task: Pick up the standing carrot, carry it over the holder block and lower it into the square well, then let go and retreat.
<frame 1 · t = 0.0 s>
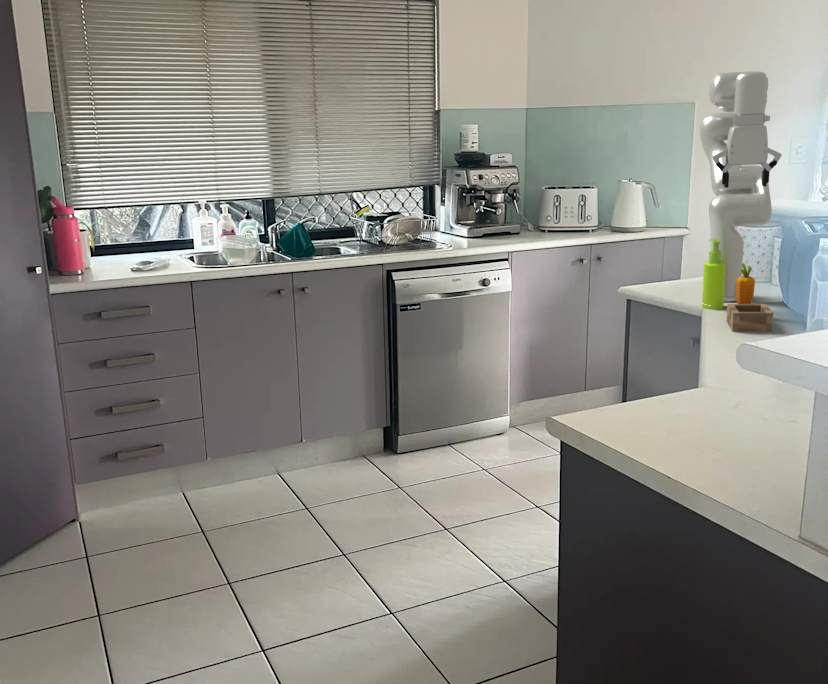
hand: (744, 186, 226), 37 cm above the worktop, tool pointing down, fingers open, 9 cm apart
soap dispenser: (712, 306, 249), on the worktop
holder: (748, 326, 227), on the worktop
carrot: (743, 316, 238), on the worktop
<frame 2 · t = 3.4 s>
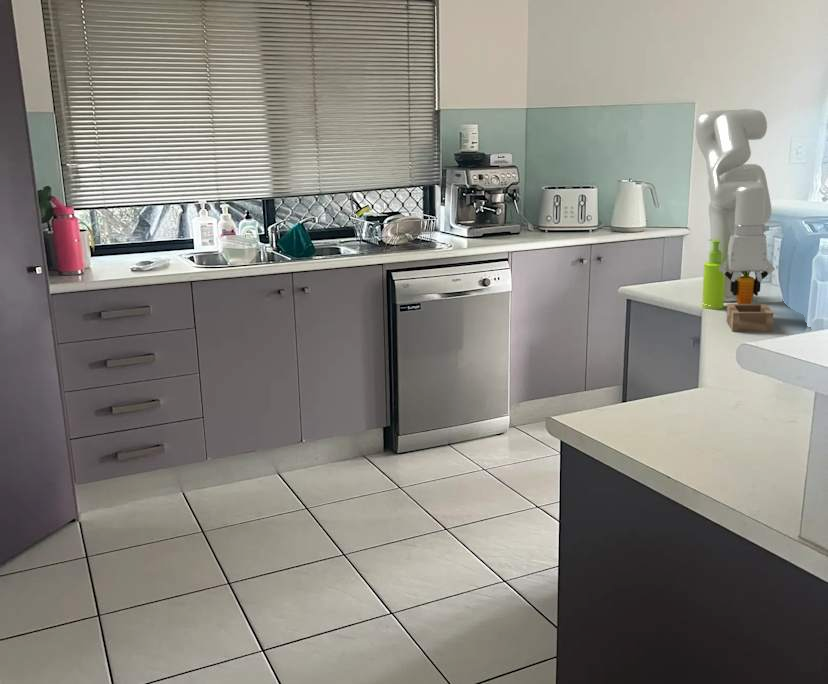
hand: (744, 293, 236), 6 cm above the worktop, tool pointing down, fingers closed on carrot, 5 cm apart
carrot: (743, 316, 238), on the worktop, touching gripper
everything else where it was.
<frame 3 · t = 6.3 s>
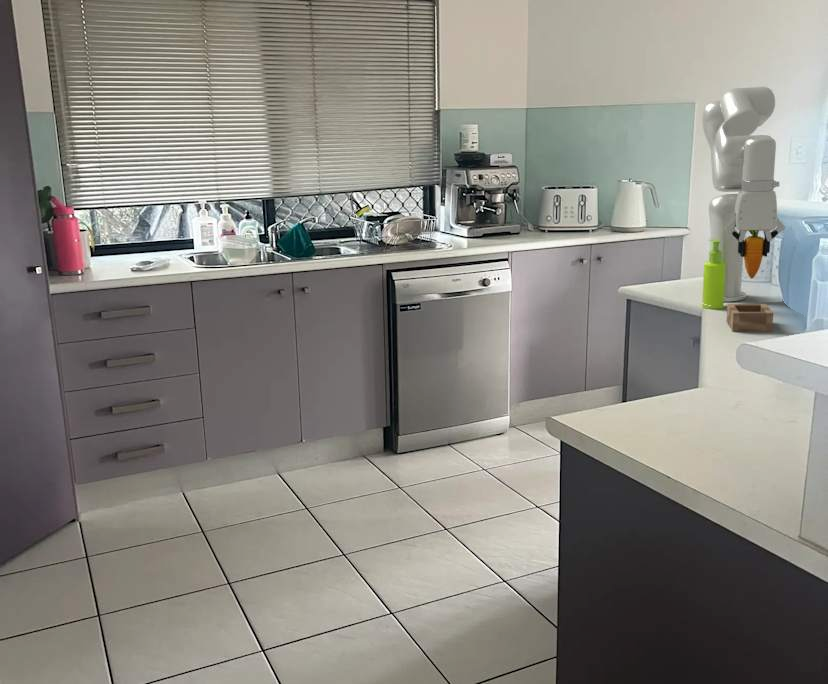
hand: (753, 255, 222), 20 cm above the worktop, tool pointing down, fingers closed on carrot, 5 cm apart
carrot: (751, 279, 223), point 13 cm above the worktop, touching gripper
everything else where it was.
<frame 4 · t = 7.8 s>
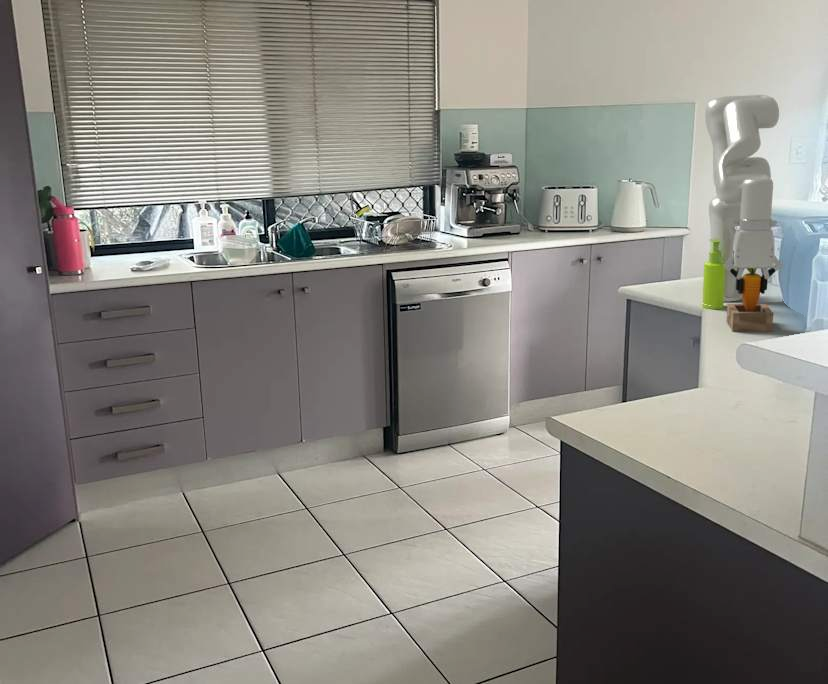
hand: (750, 292, 224), 10 cm above the worktop, tool pointing down, fingers closed on carrot, 5 cm apart
carrot: (749, 315, 226), point 3 cm above the worktop, touching gripper
everything else where it was.
when the fingers open (8 cm above the worktop, at t = 9.1 s): carrot drops 1 cm, resting in holder.
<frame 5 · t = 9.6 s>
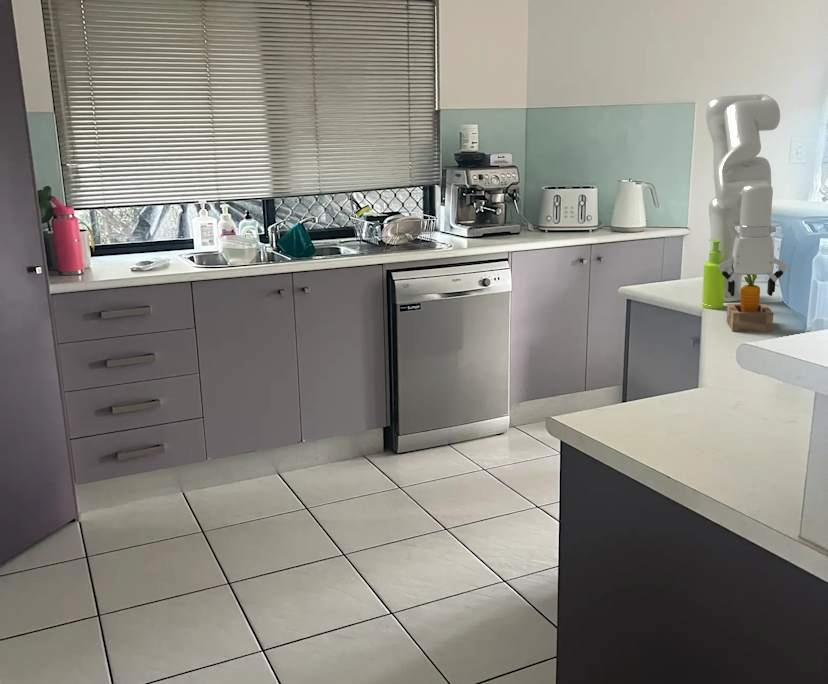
hand: (750, 294, 225), 9 cm above the worktop, tool pointing down, fingers open, 9 cm apart
carrot: (748, 326, 227), resting in holder
everything else where it was.
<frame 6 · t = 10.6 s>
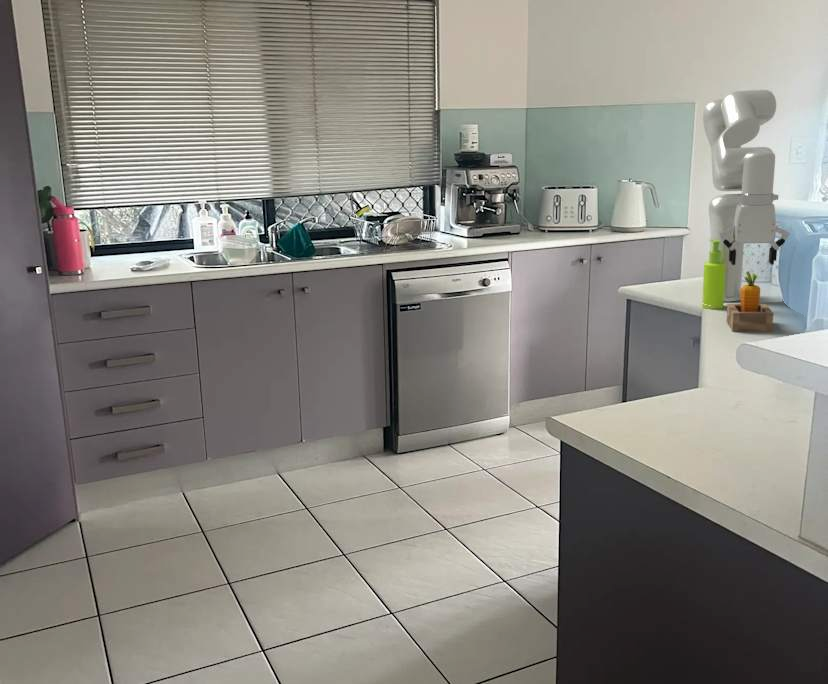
hand: (751, 263, 223), 17 cm above the worktop, tool pointing down, fingers open, 9 cm apart
nothing on the worktop moved.
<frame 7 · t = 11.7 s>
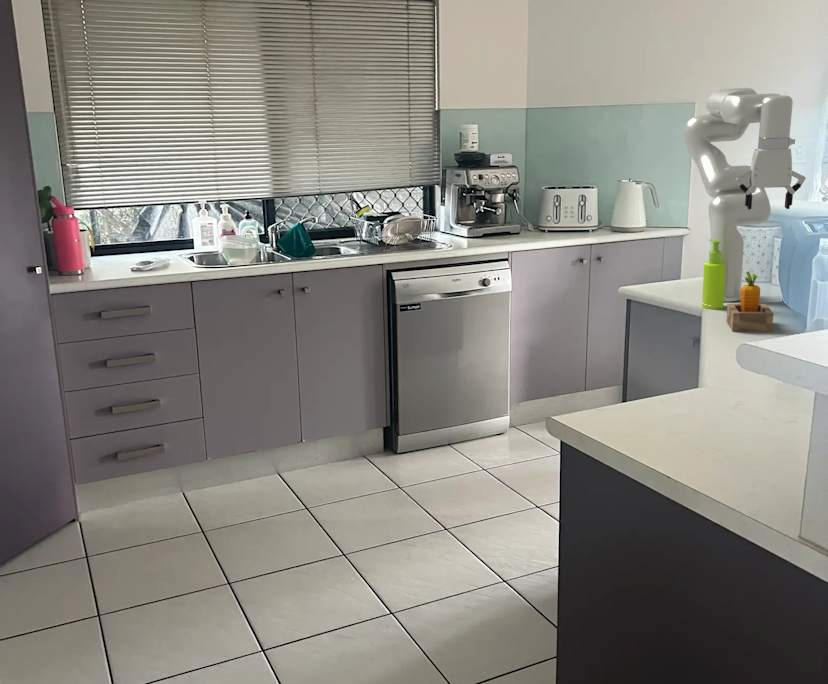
hand: (767, 208, 227), 31 cm above the worktop, tool pointing down, fingers open, 9 cm apart
nothing on the worktop moved.
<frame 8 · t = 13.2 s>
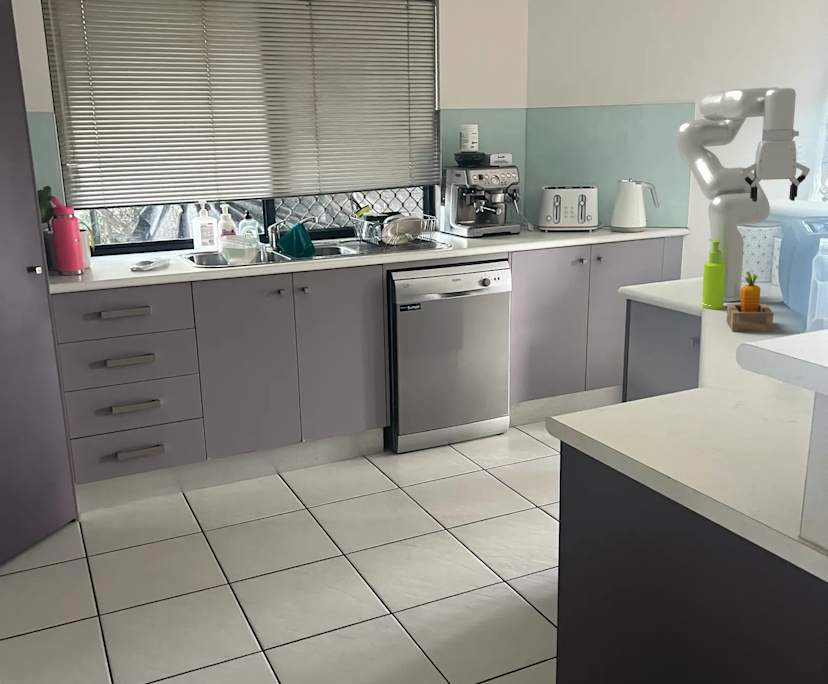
hand: (773, 200, 228), 32 cm above the worktop, tool pointing down, fingers open, 9 cm apart
nothing on the worktop moved.
at the end: carrot 0.2 cm off-centre on the holder, point 0.0 cm above the holder's base; carrot tilted 1°; the gripper is holding nothing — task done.
